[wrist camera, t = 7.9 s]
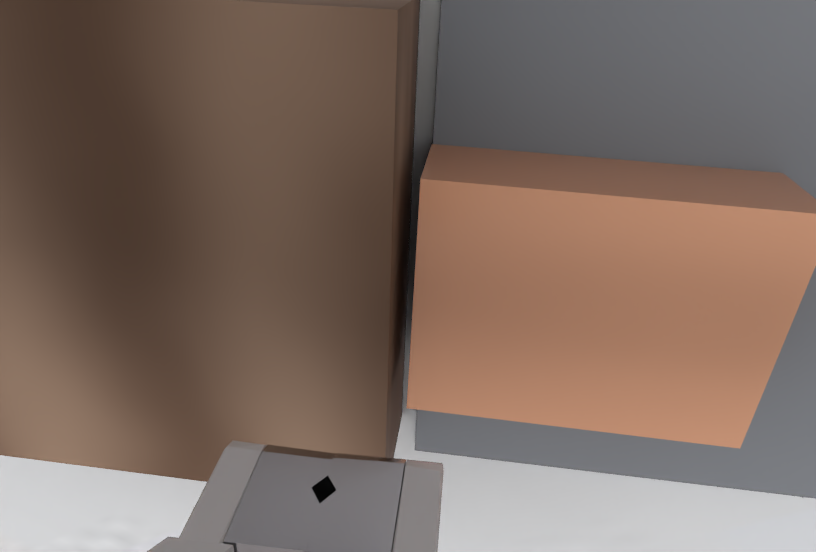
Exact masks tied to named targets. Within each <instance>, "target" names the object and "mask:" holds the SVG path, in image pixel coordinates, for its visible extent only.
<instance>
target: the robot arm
mask: <svg viewBox="0 0 816 552" xmlns="http://www.w3.org/2000/svg"><path fill="white" fill-rule="evenodd" d="M442 483H443V464H442V463H435V462H425V461H415V460H407V462H406V460H405V459H395V458H384V457H374V456H364V455H353V454H343V453H337V454H336V453H328V452H321V451H313V450H306V449H298V448H291V447H283V446H276V445H263V444H256V443H248V442H241V441H232V442H231V443H230V444H229V445H228V446H227V447H226V448H225V449H224V451H223V453H222V455H221V457H220V459H219V460H218V462H217V464H216V466H215V468H214V470H213V472H212V474H211V476H210V478H209V480H208V482H207V484H206V486H205V488H204V490H203V492H202V494H201V496H200V498H199V500H198V502H197V504H196V505H195V507H194V509H193V511H192V513H191V515H190V517H189V519H188V521H187V523H186V525H185V527H184V529H183V531H182V533H181V535H180V537H179V538H174V537H167V538H166V539H164V540H163V541H161V542H160V543H159V544H157V545H156V546H154V547H153V548H152V549H150V550H149V551H147V552H437V550H438V536H439V523H440V509H441V496H442Z"/></svg>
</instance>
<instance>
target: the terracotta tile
mask: <svg viewBox="0 0 816 552" xmlns="http://www.w3.org/2000/svg"><path fill="white" fill-rule="evenodd" d="M815 266H816V199H815V198H814V197H813V196H811V195H810V194H809V193H807V192H806V191H805V190H804V189H802V188H801V187H800V186H799V185H797V184H796V183H795V182H794V181H792V180H791V179H790V178H789V177H787V176H786V175H785V174H783V173H776V172H764V171H752V170H740V169H728V168H716V167H704V166H692V165H680V164H668V163H656V162H644V161H632V160H620V159H607V158H595V157H583V156H571V155H559V154H547V153H535V152H523V151H511V150H499V149H487V148H475V147H463V146H451V145H439V144H432V145H431V148H430V151H429V154H428V157H427V160H426V163H425V166H424V169H423V172H422V176H421V179H420V195H419V211H418V228H417V244H416V261H415V278H414V294H413V311H412V328H411V344H410V361H409V377H408V394H407V408H409V409H417V410H426V411H434V412H442V413H450V414H459V415H467V416H475V417H483V418H492V419H500V420H508V421H516V422H525V423H533V424H541V425H549V426H558V427H566V428H574V429H582V430H591V431H599V432H607V433H615V434H624V435H632V436H640V437H648V438H657V439H665V440H673V441H682V442H690V443H698V444H706V445H715V446H723V447H731V448H739V449H740V447H741V445H742V443H743V440H744V438H745V435H746V433H747V431H748V428H749V426H750V423H751V421H752V418H753V416H754V414H755V411H756V409H757V406H758V404H759V402H760V399H761V397H762V394H763V392H764V389H765V387H766V385H767V382H768V380H769V377H770V375H771V373H772V370H773V368H774V365H775V363H776V360H777V358H778V356H779V353H780V351H781V348H782V346H783V344H784V341H785V339H786V336H787V334H788V331H789V329H790V327H791V324H792V322H793V319H794V317H795V315H796V312H797V310H798V307H799V305H800V303H801V300H802V298H803V295H804V293H805V290H806V288H807V286H808V283H809V281H810V278H811V276H812V274H813V271H814V269H815Z"/></svg>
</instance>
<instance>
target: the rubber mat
mask: <svg viewBox="0 0 816 552" xmlns="http://www.w3.org/2000/svg"><path fill="white" fill-rule="evenodd" d="M433 144H439V145H451V146H463V147H475V148H487V149H499V150H511V151H523V152H535V153H547V154H559V155H571V156H583V157H595V158H607V159H620V160H632V161H644V162H656V163H668V164H680V165H692V166H704V167H716V168H728V169H740V170H752V171H764V172H776V173H783V174H785V175H786V176H787V177H789V178H790V179H791V180H792V181H794V182H795V183H796V184H797V185H799V186H800V187H801V188H802V189H804V190H805V191H806V192H807V193H809V194H810V195H811V196H813V197H814V198H815V199H816V0H441V15H440V31H439V48H438V65H437V82H436V99H435V116H434V133H433ZM415 450H417V451H425V452H434V453H442V454H450V455H459V456H467V457H475V458H484V459H492V460H500V461H509V462H517V463H525V464H534V465H542V466H550V467H559V468H567V469H575V470H583V471H592V472H600V473H608V474H617V475H625V476H633V477H642V478H650V479H658V480H667V481H675V482H683V483H692V484H700V485H708V486H717V487H725V488H733V489H742V490H750V491H758V492H767V493H775V494H783V495H792V496H800V497H808V498H816V266H815V269H814V271H813V274H812V276H811V278H810V281H809V283H808V286H807V288H806V290H805V293H804V295H803V298H802V300H801V303H800V305H799V307H798V310H797V312H796V315H795V317H794V319H793V322H792V324H791V327H790V329H789V331H788V334H787V336H786V339H785V341H784V344H783V346H782V348H781V351H780V353H779V356H778V358H777V360H776V363H775V365H774V368H773V370H772V373H771V375H770V377H769V380H768V382H767V385H766V387H765V389H764V392H763V394H762V397H761V399H760V402H759V404H758V406H757V409H756V411H755V414H754V416H753V418H752V421H751V423H750V426H749V428H748V431H747V433H746V435H745V438H744V440H743V443H742V445H741V447H740V449H739V448H731V447H723V446H715V445H706V444H698V443H690V442H682V441H673V440H665V439H657V438H648V437H640V436H632V435H624V434H615V433H607V432H599V431H591V430H582V429H574V428H566V427H558V426H549V425H541V424H533V423H525V422H516V421H508V420H500V419H492V418H483V417H475V416H467V415H459V414H450V413H442V412H434V411H426V410H417V421H416V438H415Z"/></svg>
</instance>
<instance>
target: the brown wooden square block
mask: <svg viewBox="0 0 816 552" xmlns="http://www.w3.org/2000/svg"><path fill="white" fill-rule="evenodd" d="M419 11H420V0H0V455H4V456H12V457H20V458H28V459H35V460H43V461H51V462H59V463H66V464H74V465H82V466H90V467H97V468H105V469H113V470H121V471H128V472H136V473H144V474H152V475H159V476H167V477H175V478H183V479H190V480H198V481H206V482H208V480H209V478H210V476H211V474H212V472H213V470H214V468H215V466H216V464H217V462H218V460H219V459H220V457H221V455H222V453H223V451H224V449H225V448H226V447H227V446H228V445H229V444H230V443H231V442H232V441H241V442H248V443H256V444H263V445H276V446H283V447H291V448H298V449H306V450H313V451H321V452H328V453H336V454H337V453H343V454H353V455H364V456H374V457H384V458H393V457H394V452H395V447H396V442H397V437H398V432H399V427H400V422H401V417H402V399H403V376H404V353H405V331H406V308H407V285H408V262H409V239H410V216H411V194H412V171H413V148H414V125H415V102H416V80H417V57H418V34H419Z"/></svg>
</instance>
